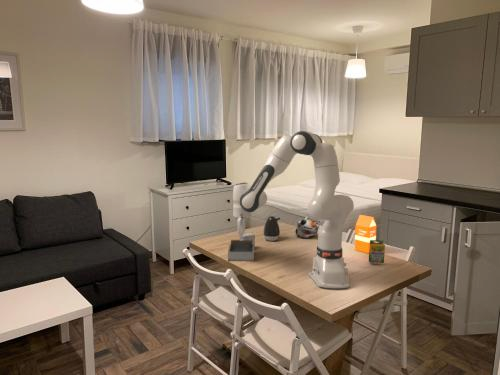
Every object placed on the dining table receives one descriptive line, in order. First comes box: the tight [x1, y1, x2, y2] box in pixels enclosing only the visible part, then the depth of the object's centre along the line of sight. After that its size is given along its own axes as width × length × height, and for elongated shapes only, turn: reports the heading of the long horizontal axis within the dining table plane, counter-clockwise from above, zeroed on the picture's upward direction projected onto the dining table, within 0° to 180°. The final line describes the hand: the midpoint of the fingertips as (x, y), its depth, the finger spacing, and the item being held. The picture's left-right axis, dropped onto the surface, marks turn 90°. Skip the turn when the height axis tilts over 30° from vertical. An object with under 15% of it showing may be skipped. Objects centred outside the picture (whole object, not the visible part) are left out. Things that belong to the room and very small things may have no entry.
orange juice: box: [354, 214, 377, 254], centre depth 218 cm, size 8×9×20 cm
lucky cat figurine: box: [294, 218, 320, 239], centre depth 243 cm, size 15×12×14 cm
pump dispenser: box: [263, 215, 281, 242], centre depth 237 cm, size 10×10×15 cm
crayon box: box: [368, 239, 386, 264], centre depth 198 cm, size 7×3×12 cm, turn 89°
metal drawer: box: [227, 239, 255, 262], centre depth 206 cm, size 14×14×8 cm
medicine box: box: [243, 232, 256, 250], centre depth 219 cm, size 8×4×9 cm, turn 130°
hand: (241, 237), depth 204 cm, fingers open, 8 cm apart
